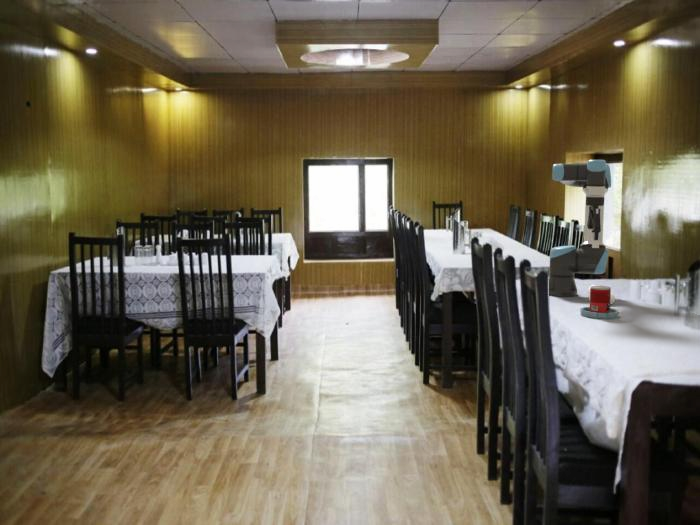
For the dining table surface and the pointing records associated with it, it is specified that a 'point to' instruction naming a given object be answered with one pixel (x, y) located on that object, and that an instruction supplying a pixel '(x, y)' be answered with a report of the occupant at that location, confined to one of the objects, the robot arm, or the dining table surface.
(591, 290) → the canned food
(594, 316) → the dish
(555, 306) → the dining table surface
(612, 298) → the penguin figurine
